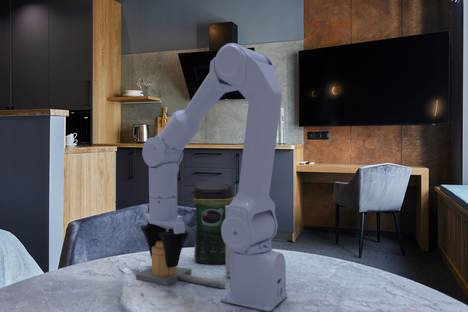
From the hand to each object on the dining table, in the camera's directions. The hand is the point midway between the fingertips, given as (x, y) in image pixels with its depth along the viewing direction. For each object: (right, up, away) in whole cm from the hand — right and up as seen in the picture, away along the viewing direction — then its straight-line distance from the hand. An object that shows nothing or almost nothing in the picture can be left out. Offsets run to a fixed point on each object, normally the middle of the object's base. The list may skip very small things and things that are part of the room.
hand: (164, 262), depth 82 cm
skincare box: (+17, -3, +1) cm, 18 cm away
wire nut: (0, -2, 0) cm, 2 cm away
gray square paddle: (+5, -3, -3) cm, 6 cm away
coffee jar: (+10, -3, +12) cm, 16 cm away
